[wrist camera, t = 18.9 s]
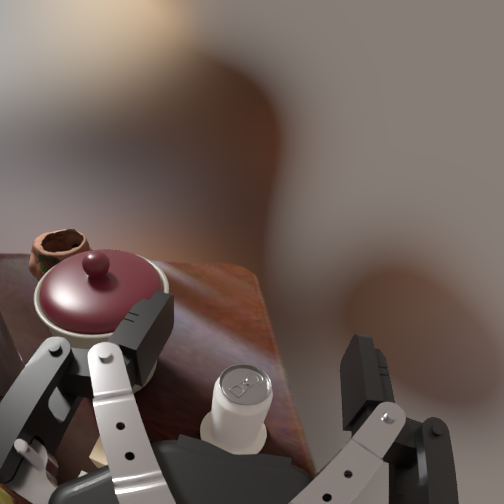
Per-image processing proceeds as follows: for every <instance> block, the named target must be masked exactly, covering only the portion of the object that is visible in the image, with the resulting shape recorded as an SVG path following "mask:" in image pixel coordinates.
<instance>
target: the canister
mask: <svg viewBox="0 0 504 504" xmlns="http://www.w3.org/2000/svg"><path fill="white" fill-rule="evenodd" d="M156 291H161V292H164V293H168V294H169V284H168V280H167V278H166V276H165V274H164V272H163V271H162V270H161V269H160V268H159V267H158V266H157V265H156V264H154V263H153V262H152V261H150V260H148V259H146V258H144V257H141V256H139V255H136V254H132V253H129V252H125V251H120V250H109V249H103V250H92V251H87V252H82V253H79V254H76V255H73V256H71V257H69V258H66V259H65V260H63V261H61V262H60V263H58V264H57V265H55V266H54V267H52V268H51V269H50V270H49V271H48V272H46V273H45V275H44V276H43V277H42V278H41V280H40V281H39V283H38V285H37V287H36V290H35V293H34V306H35V309H36V312H37V314H38V316H39V318H40V319H41V320H42V321H43V323H44V324H46V325H47V326H48V328H49V330H50V331H51V334H52V335H53V337H63V338H65V339H66V340H67V341H68V342H69V343H70V346H71V348H79V349H91V348H92V347H93V346H94V345H96V344H98V343H102V342H107V341H108V339H109V338H110V337H111V335H112V334H113V332H114V331H115V330H116V328H117V327H118V326H119V324H120V323H121V322H122V320H124V317H125V316H126V315H127V313H129V311H130V309H131V308H132V307H133V305H134V304H136V303H137V302H139V301H141V300H142V299H147V300H150V299H151V297H152V296H153V294H154V293H155V292H156ZM156 365H157V361H156V363H155V364H154V366H153V368H152V370H151V372H150V374H149V376H148V378H147V380H146V382H145V384H144V386H143V387H145V386H146V384H147V383H148V382H149V381H150V379H151V378H152V376H153V374H154V371H155V369H156ZM143 387H141V386H138V385H136V384H135V385H134V387H133V389H132V391H133V393H136V392H137V391H139V390H141V389H142V388H143Z"/></svg>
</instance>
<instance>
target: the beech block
mask: <svg viewBox="0 0 504 504" xmlns="http://www.w3.org/2000/svg"><path fill="white" fill-rule="evenodd" d="M89 458H90V459H91V460H92V462H93V463H94V464H95V465H96V467H97V468H98V469H99V468H101V467H103V466H105V465H108V463H107V459H106V456H105V452H104V448H103V445H102V441H101V437H99V439H98V441H97V442H96V444H95V446H94V448H93V450H92V452H91V454H90V456H89Z"/></svg>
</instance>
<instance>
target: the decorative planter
mask: <svg viewBox="0 0 504 504" xmlns="http://www.w3.org/2000/svg"><path fill="white" fill-rule="evenodd" d="M87 251H92V249H91V248H90V247H89V244H88V241H87V239H86V237H85V236H84V235H83V234H82V233H80V232H78V231H76V230H74V229H65V230H58V231H55V232H49V233H44V234H42V235H40V236H39V237H38V238H36V239H35V240H34V241H33V245H32V252H31V258H30V262H29V270H30V272H31V273H32V275H33V276H34V277H35V278H37V279H38V280H39V281H40V280H41V278H42V277H43V276H44V275H45V273H46V272H48V271H49V270H50V269H51V268H52V267H54V266H55V265H57V264H58V263H60V262H61V261H63V260H65V259H66V258H69V257H71V256H73V255H76V254H79V253H82V252H87Z"/></svg>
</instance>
